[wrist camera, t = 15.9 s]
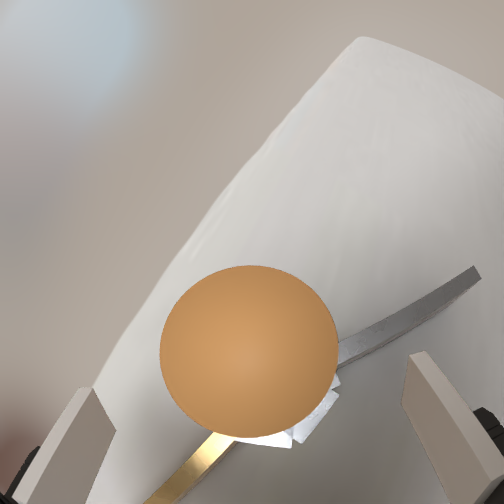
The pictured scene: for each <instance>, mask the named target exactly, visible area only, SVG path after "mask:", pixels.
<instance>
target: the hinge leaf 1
mask: <svg viewBox="0 0 504 504" xmlns="http://www.w3.org/2000/svg"><path fill="white" fill-rule="evenodd" d="M235 439H236V437H235V438H234V437H230V436H226V435H222V434H218V433H216V432H213V433H212V435H211V436H210V437H209V438H208V439H207V440H206V441H205V442H204V443H203V444H202V445H201V446H200V448H199V449H198V450H197V451H196V452H195V453H194V454H193V455H192V456H191V457H190V458H189V459H188V460H187V461H186V462H185V463H184V464H183V465H182V466H181V467H180V468H179V469H178V470H177V471H176V472H175V473H174V474H173V475H172V476H171V477H170V478H169V479H168V480H167V481H166V482H165V483H164V484H163V485H162V486H161V487H160V488H159V489H158V490H157V491H156V492H155V493H154V494H153V495H152V496H151V497H150V498H149V499H147V500H146V501H145V502H144V503H143V504H177V503H178V502H179V501H180V500H181V499H182V498H183V497H185V496H186V495H187V494H188V493H189V492H190V491H191V490H192V489H193V488H194V487H195V486H196V485H197V484H198V483H199V482H200V481H201V480H202V479H203V478H204V477H205V476H206V475H207V474H208V473H209V472H210V471H211V470H212V469H213V468H214V467H215V466H216V465H217V464H218V463H219V462H220V461H221V460H222V459H223V458H224V456H225V455H226V454H227V453H228V452H229V451H230V450H231V449H232V448H233V447H234V446H235V445H236V444H237V442H238V441H234V440H235Z"/></svg>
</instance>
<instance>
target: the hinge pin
mask: <svg viewBox="0 0 504 504" xmlns="http://www.w3.org/2000/svg"><path fill="white" fill-rule="evenodd" d="M338 349H339V345H338V337H337V332H336V328H335V324H334V322H333V319H332V317H331V314H330V312H329V311H328V309H327V307H326V306H325V304H324V302H323V301H322V300H321V299H320V297H319V296H318V295H317V294H316V293H315V292H314V291H313V290H312V289H311V288H310V287H309V286H308V285H306V284H305V283H304V282H302V281H301V280H299V279H298V278H296V277H294V276H292V275H291V274H288V273H286V272H283V271H281V270H277V269H274V268H270V267H264V266H249V265H248V266H237V267H232V268H227V269H224V270H221V271H218V272H216V273H213V274H211V275H209V276H207V277H205V278H204V279H202V280H200V281H199V282H197V283H196V284H195V285H193V286H192V287H191V288H190V289H188V290H187V291H186V292H185V293H184V294H183V295H182V296H181V298H180V299H179V300H178V302H177V303H176V304H175V306H174V307H173V309H172V311H171V312H170V314H169V316H168V318H167V320H166V323H165V325H164V329H163V332H162V336H161V342H160V365H161V370H162V375H163V378H164V381H165V384H166V386H167V389H168V391H169V392H170V394H171V396H172V398H173V399H174V401H175V402H176V403H177V405H178V406H179V407H180V408H181V409H182V410H183V411H184V412H185V413H186V415H187V416H189V417H190V418H191V419H193V420H194V421H195V422H196V423H198V424H200V425H201V426H203V427H205V428H207V429H209V430H211V431H213V432H216V433H218V434H222V435H226V436H230V437H237V438H259V437H265V436H270V435H273V434H276V433H280V432H282V431H284V430H287V429H289V428H291V427H293V426H294V425H296V424H297V423H299V422H301V421H302V420H303V419H305V418H306V417H307V416H308V415H309V414H310V413H312V412H313V411H314V410H315V408H316V407H317V406H318V405H319V404H320V403H321V401H322V400H323V398H324V397H325V395H326V394H327V392H328V390H329V388H330V386H331V384H332V382H333V379H334V376H335V372H336V369H337V363H338Z"/></svg>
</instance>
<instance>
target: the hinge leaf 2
mask: <svg viewBox="0 0 504 504" xmlns="http://www.w3.org/2000/svg"><path fill="white" fill-rule="evenodd" d="M479 280H481V277H480V275H479V273H478V272H477V270H476V268H475V267H474V265H473V266H472V267H470V268H469V269H467V270H466V271H464V272H463V273H461V274H460V275H458V276H457V277H455V278H454V279H452V280H451V281H449V282H447V283H446V284H444V285H443V286H441V287H439V288H438V289H436V290H435V291H433V292H431V293H430V294H428V295H426V296H425V297H423V298H421V299H419V300H418V301H416V302H414V303H413V304H411V305H409V306H407V307H406V308H404V309H402V310H400V311H398V312H397V313H395V314H393V315H391V316H389V317H388V318H386V319H384V320H382V321H380V322H378V323H376V324H374V325H372V326H371V327H369V328H367V329H365V330H363V331H361V332H359V333H357V334H355V335H353V336H351V337H349V338H347V339H345V340H343V341H340V342H338V345H339V349H338V363H337V369H339V368H341V367H343V366H345V365H347V364H349V363H351V362H353V361H355V360H357V359H359V358H361V357H363V356H365V355H367V354H369V353H371V352H372V351H374V350H376V349H378V348H380V347H382V346H383V345H385V344H387V343H389V342H391V341H392V340H394V339H396V338H398V337H399V336H401V335H403V334H405V333H406V332H408V331H410V330H411V329H413V328H415V327H416V326H418V325H420V324H421V323H423V322H425V321H426V320H428V319H429V318H431V317H432V316H434V315H436V314H437V313H439V312H440V311H442V310H443V309H445V308H446V307H448V306H449V305H450V304H452V303H453V302H454V301H455V300H457V299H458V298H459V297H460V296H462V295H463V294H464V293H465V292H467V291H468V290H469V289H470V288H471V287H472V286H474V285H475V284H476V283H477V282H478V281H479ZM337 369H336V370H337ZM339 385H341V384H340V381H339V379H338V377H337V375H336V373H335V376H334V379H333V382H332V384H331V386H330V388H329V390H328V392H327V394H326V395H325V397H324V398H323V400H322V401H321V403H320V404H319V405H318V406H317V407H316V408H315V410H314V411H313V412H312V413H310V414H309V415H308V416H307V417H306V418H305V419H303V420H302V421H301V422H299V423H297V424H296V425H294V426H293V427H291V428H289V429H287V430H284V431H282V432H280V433H276V434H273V435H270V436H265V437H259V438H237V437H236V439H235V440H234V441H240V442H246V443H253V444H259V445H267V446H275V447H283V448H291V446H292V440H293V439H295V440H296V441H298V442H299V443H301V444H302V443H303V442H304V441H305V439H306V438H307V437H308V436H309V435H310V433H311V432H312V431H313V430H314V428H315V427H316V426H317V425H318V423H319V422H320V421H321V419H322V418H323V417H324V416H325V414H326V413H327V412H328V410H329V409H330V408H331V406H332V405H333V404H334V402H335V401H336V400H337V398H338V397H339V396H340V395H339V394H337V393H336V392H334V391H333V390H331V389H333V388H335V387H337V386H339ZM234 438H235V437H234Z"/></svg>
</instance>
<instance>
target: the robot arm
mask: <svg viewBox="0 0 504 504" xmlns="http://www.w3.org/2000/svg"><path fill="white" fill-rule="evenodd" d="M401 405H402V407H403V409H404V410H405V412H406V414H407V416H408V418H409V420H410V422H411V424H412V426H413V427H414V429H415V431H416V433H417V435H418V437H419V439H420V441H421V443H422V445H423V447H424V449H425V451H426V453H427V455H428V457H429V459H430V461H431V463H432V465H433V467H434V469H435V471H436V473H437V475H438V478H439V480H440V482H441V484H442V486H443V488H444V490H445V492H446V495H447V497H448V499H449V501H450V503H451V504H483V503H484V504H504V428H503V426H502V425H500V422H499V421H498V420H497V418H496V417H495V416H494V414H493V413H491V412H489V411H488V410H486V409H485V408H483V407H482V408H479V409H477V410H475V411H473V412H472V411H471V410H470V408H469V407H468V405H467V404H466V403H465V401H464V400H463V399H462V397H461V396H460V395H459V393H458V392H457V391H456V389H455V388H454V387H453V385H452V384H451V383H450V382H449V380H448V379H447V378H446V376H445V375H444V374H443V372H442V371H441V370H440V369H439V367H438V366H437V365H436V364H435V362H434V361H433V360H432V359H431V357H430V356H429V355H428V354H427V352H426V351H422V352H418V353H415V354H411V355H409V358H408V365H407V372H406V378H405V384H404V389H403V395H402V400H401ZM115 432H116V429H115V428H114V426H113V424H112V422H111V421H110V419H109V417H108V415H107V414H106V412H105V410H104V408H103V406H102V405H101V403H100V401H99V399H98V397H97V395H96V393H95V391H94V389H93V388H82V387H80V388H79V389H78V390H77V392H76V393H75V395H74V396H73V398H72V399H71V401H70V402H69V404H68V405H67V407H66V408H65V410H64V411H63V413H62V414H61V416H60V418H59V419H58V421H57V422H56V424H55V425H54V427H53V429H52V430H51V432H50V433H49V435H48V436H47V438H46V440H45V441H44V443H43V445H42V446H41V447H40V446H38V447H36V448H35V449H34V450H33V451H32V452H31V453H30V454H29V455H28V457H27V459H26V460H25V464H23V465H22V467H21V470H20V471H19V472H18V474H17V475H16V477H15V479H14V480H13V482H12V484H11V485H10V487H9V489H8V491H7V492H6V494H5V495H3V494H2V493H1V492H0V504H85V503H86V500H87V498H88V495H89V493H90V490H91V488H92V486H93V483H94V481H95V478H96V476H97V474H98V471H99V469H100V467H101V464H102V462H103V460H104V457H105V455H106V453H107V450H108V448H109V446H110V444H111V441H112V439H113V437H114V435H115Z"/></svg>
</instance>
